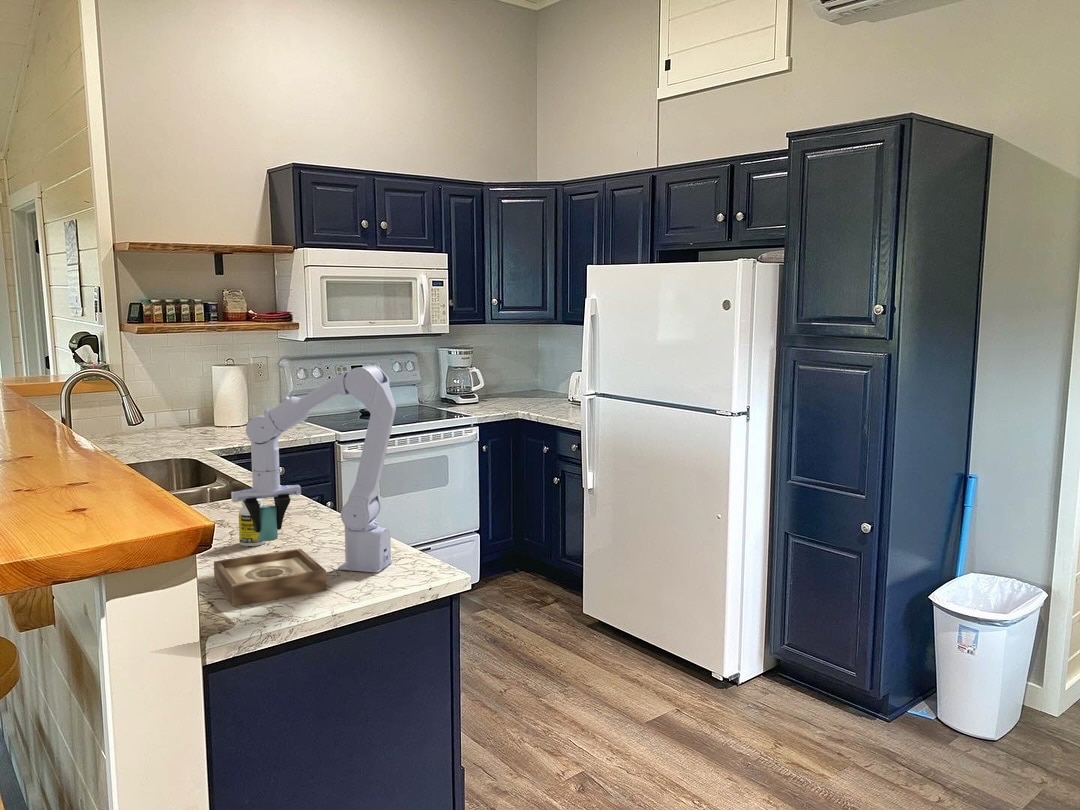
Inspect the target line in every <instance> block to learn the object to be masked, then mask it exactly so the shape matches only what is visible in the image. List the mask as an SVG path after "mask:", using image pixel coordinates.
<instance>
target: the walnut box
mask: <svg viewBox="0 0 1080 810" xmlns="http://www.w3.org/2000/svg"><path fill="white" fill-rule="evenodd" d="M213 574H214V575H213V577H214V581H215V580H216V581H215V583H216V582H217V583H218V584H217V583H216V584H217V586H218V585H219V586H218V587H219V589H220V591H222V593H223V594H224V596H225V597H226V598H227V599H228V601H229V602H230V604H231V606H232V607H238V606H245V605H248V604H249V605H251V604H255V603H261V602H266V601H267V602H268V601H273V600H277V599H279V600H280V599H283V598H284V599H285V598H289V597H294V596H300V595H306V594H311V593H316V592H322V591H327V590H328V589H327V585H328V584H327V570H326V569H325V568H324V567H323V566H322V565H320V564H319V563H318V562H317V561H316V560H315V559H313V557H311V556H310V555H309V554H308V553H306V551H304V550H303V549H302V548H295V549H289V550H288V549H287V550H282V551H275V552H268V553H262V554H261V553H260V554H254V555H247V556H241V557H235V558H234V557H233V558H228V559H227V558H225V559H220V560H215V561H213Z"/></svg>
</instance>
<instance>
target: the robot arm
mask: <svg viewBox="0 0 1080 810" xmlns="http://www.w3.org/2000/svg"><path fill="white" fill-rule="evenodd" d="M338 395H339V396H340V395H341V396H347V395H351V396H352V397H354V398H355V399H356V400H358V401H360V402H361V403H362V404H363V405H364V407H365V409H366V410H367V411H368V412H369V413H370V416H369V419H368V425H367V429H366V433H365V437H364V442H363V446H362V451H361V455H360V460H359V464H358V468H357V474H356V477H355V482H354V485H353V487H352V489H351V491H350V492H349V495H348V500H347V501H346V503H345V504H344V505H343V506H342V508H341V512H340V518H341V522H342V524H343V525H344V554H345V555H344V557H345V562H344V563H342V564H341V565H339V566H338V567H337V569H338V570H341V571H342V570H343V571H353V572H354V571H355V572H364V573H376V574H377V573H379V572H381V571H382V570H384V569H385V568H387V567H388V566H389V565H391V564H392V563H393V560H392V557H391V555H392V553H391V551H392V549H391V532H390V530H389V529H388V528H385V527H381V526H379V521H378V519H377V516H378V515H379V514H380V512H381V507H382V505H381V501H380V493H381V488H380V486H379V485H380V481H381V476H382V472H383V467H384V463H385V459H386V458H385V457H386V454H387V452H388V445H389V441H390V437H391V433H392V429H393V424H394V420H395V415H396V411H397V406H396V402H395V399H394V396H393V392H392V390H391V387H390V378H389V377H388V375H387V374H386V373H385V372H384V371H383V369H381V368H380V367H379V366H378V365H374V364H367V365H365V366H362V367H354V368H352V369H350V370H348V371H347V372H344V373H340V374H338V375H336V376H334V377H332V378H331V379H329V380H328V381H326V382H325V383H322V385H319V386H318V387H316V388H315V389H313V390H312V391H311V392H309V393H307V394H306V395H304V396H303V397H297V396H291V397H289V396H285V397H283V398H282V399H281V403H279V404H277V405H275V406H274V407H272V408H265V409H264V410H263V414H261V415H256V416H253V417H252V418H251V419H249V421H248V422H247V424H246V426H245V433H246V436H247V438H248V439H249V440H250V448H251V449H250V452H251V455H250V456H251V478H252V488H249V489H243V490H238V491H237V490H236V491H231V492H230V494H231V495H230V496H231V497H230V498H231V499H230V500H231V502H232V503H238V502H242V501H243V502H244V504H245V506H246V507H247V509H248V511H249V513H250V516H251V518H252V521H253V525H254V530H255V532H257V533H258V532H260V522H259V509H260V504H259V503H258V500H257V499H262V500H263V499H270V498H273V501H274V506H276V507H277V529H278V530H279V531H280V530H282V527H283V520H284V517H285V514H286V511H287V509H288V507H289V505H290V503H291V497H290V496H293V495H296V496H300V495H302V487H301V486H300V485H299V484H295V485H294V484H292V485H290V484H289V485H281V478H280V477H281V475H280V474H281V473H280V452H279V451H280V447H279V438H280V436H281V435H282V434H283V433H285V432H287V431H289V430H290V429H292V428H293V427H296V426H297V425H299V424H300V423H302V422H304V421H306V420H307V419H308V417H309V414H310V411H311V410H312V409H314V408H316V407H318V406H320V405H322V404H323V403H326V402H328V401H329V400H331V399H333V398H334V397H336V396H338Z"/></svg>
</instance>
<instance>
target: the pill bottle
mask: <svg viewBox="0 0 1080 810" xmlns="http://www.w3.org/2000/svg"><path fill="white" fill-rule="evenodd" d="M257 500H258V503H259V504H260V507H261V506H263V498H262V499H257ZM241 506H242V507H240V509H239V510H238V537H239V542H238V543H239V545H240V546H243V547H248V546H252V547H258V546H259V545H260V546H262V545H264V544H266V542H267V541H260V540H259V532H258V533H257V532H255V530H254V525H253V521H252V518H251V516H250V513H249V511H248V509H247V507H246V506H245V504H244V502H243V501H241Z"/></svg>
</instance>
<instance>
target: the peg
mask: <svg viewBox="0 0 1080 810" xmlns="http://www.w3.org/2000/svg"><path fill="white" fill-rule="evenodd" d="M259 522H260V532H259V540H260V541H266V542H271V541H276V540H277V539H278V538H279V536H278V535H279V534H278V529H277V507H276V506H275V505H261V507H260V509H259Z"/></svg>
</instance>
